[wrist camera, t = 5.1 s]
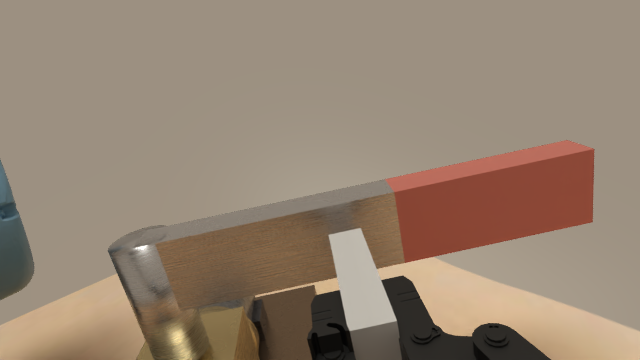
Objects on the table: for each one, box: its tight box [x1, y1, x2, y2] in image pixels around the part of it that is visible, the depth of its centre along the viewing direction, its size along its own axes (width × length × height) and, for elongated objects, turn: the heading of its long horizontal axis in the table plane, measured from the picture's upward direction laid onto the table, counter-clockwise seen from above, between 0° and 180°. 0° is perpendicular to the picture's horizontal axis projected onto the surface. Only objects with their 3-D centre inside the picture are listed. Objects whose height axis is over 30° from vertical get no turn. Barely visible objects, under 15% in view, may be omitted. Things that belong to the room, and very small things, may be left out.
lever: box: [108, 140, 594, 360], centre depth 22 cm, size 24×3×7 cm, turn 95°
